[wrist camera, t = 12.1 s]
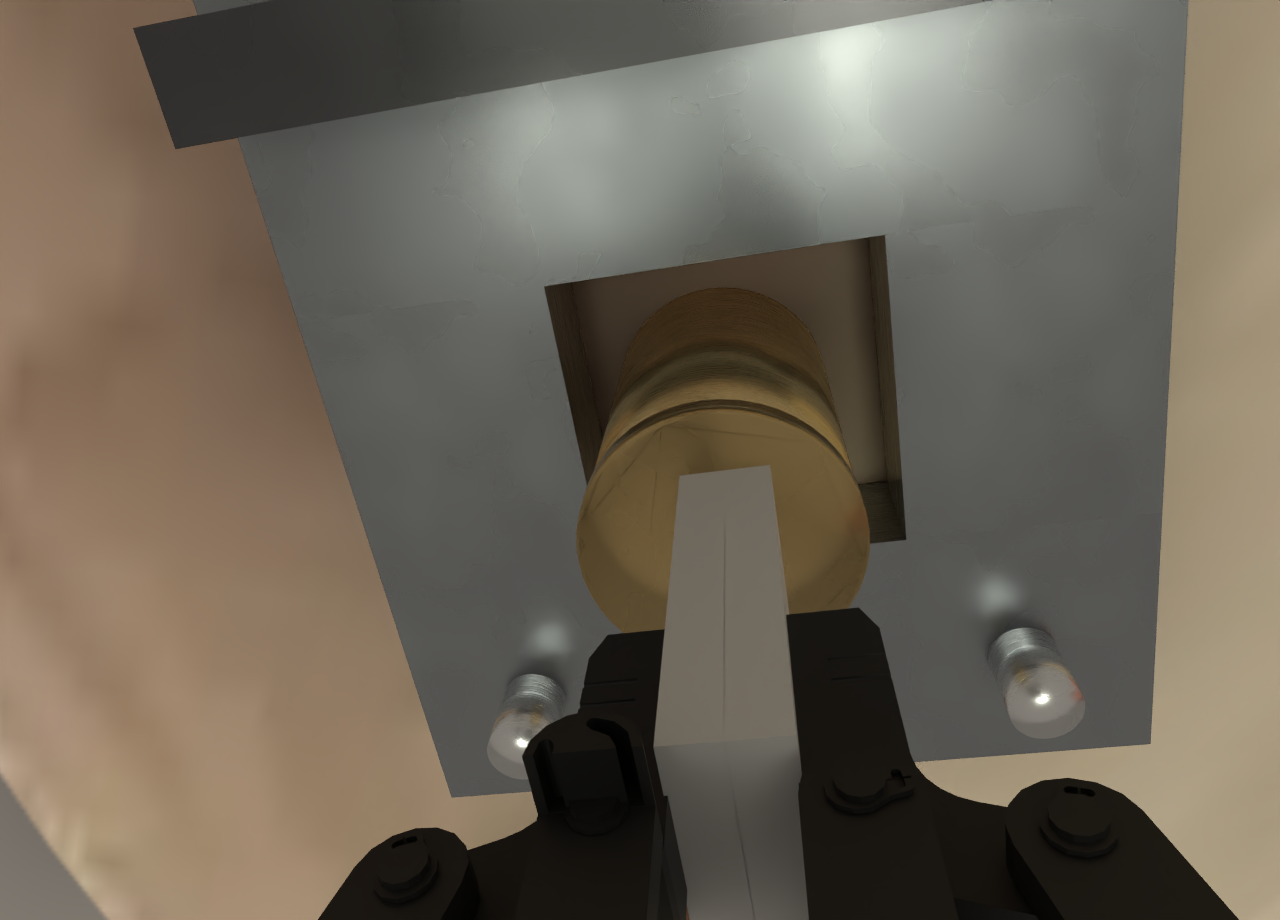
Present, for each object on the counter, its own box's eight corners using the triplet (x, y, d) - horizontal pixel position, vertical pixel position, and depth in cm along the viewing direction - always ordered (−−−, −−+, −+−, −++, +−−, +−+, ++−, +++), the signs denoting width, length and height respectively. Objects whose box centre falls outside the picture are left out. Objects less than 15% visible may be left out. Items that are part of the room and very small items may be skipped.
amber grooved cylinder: (603, 301, 24) (549, 433, 16) (816, 270, 23) (857, 393, 16) (639, 489, 26) (604, 679, 19) (836, 466, 25) (880, 654, 18)
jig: (259, -3, 21) (121, -4, 17) (1131, -180, 19) (1272, -243, 14) (476, 724, 30) (427, 867, 25) (1107, 669, 27) (1192, 816, 22)
